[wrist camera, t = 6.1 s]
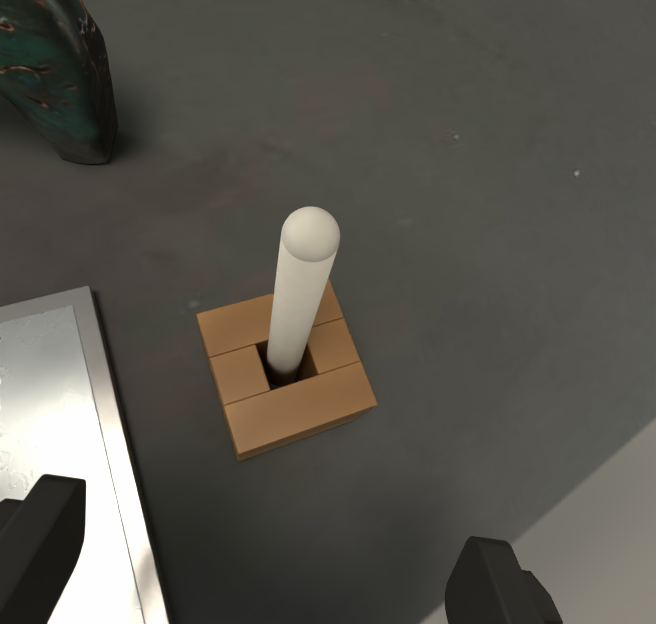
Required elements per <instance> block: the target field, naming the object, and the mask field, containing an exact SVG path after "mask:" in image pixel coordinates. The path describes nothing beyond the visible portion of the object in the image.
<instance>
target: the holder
mask: <svg viewBox="0 0 656 624" xmlns="http://www.w3.org/2000/svg"><path fill="white" fill-rule="evenodd" d="M273 299H274V293H272V294H268V295H264V296H261V297H257V298H253V299H250V300H246V301H242V302H239V303H235V304H231V305H228V306H224V307H220V308H217V309H213V310H209V311H206V312H202V313H198V314H196V317H197V321H198V325H199V330H200V334H201V339H202V343H203V347H204V351H205V354H206V357H207V361H208V364H209V367H210V371H211V374H212V378H213V381H214V384H215V388H216V391H217V394H218V398H219V401H220V404H221V408H222V411H223V414H224V418H225V421H226V424H227V428H228V431H229V434H230V438H231V441H232V445H233V448H234V451H235V455H236V458H237V461H238V462H240V461H243V460H246V459H249V458H251V457H254V456H257V455H260V454H262V453H265V452H268V451H271V450H273V449H276V448H279V447H282V446H284V445H287V444H290V443H293V442H296V441H298V440H301V439H304V438H307V437H309V436H312V435H315V434H318V433H320V432H323V431H326V430H329V429H331V428H334V427H337V426H340V425H342V424H345V423H348V422H351V421H353V420H354V419H356V418H358V417H359V416H361V415H362V414H364V413H365V412H367V411H368V410H370V409H372V408H373V407H375V406H376V405H378V403H377V401H376V398H375V396H374V393H373V391H372V388H371V385H370V383H369V380H368V378H367V375H366V373H365V370H364V367H363V365H362V362H361V361H360V358H359V355H358V353H357V350H356V348H355V345H354V342H353V340H352V337H351V335H350V332H349V330H348V327H347V324H346V322H345V319H344V318H343V317H344V316H343V313H342V311H341V308H340V306H339V303H338V301H337V298H336V295H335V293H334V290H333V288H332V285H331V283H330V280H329V278H328V280H327V283H326V286H325V289H324V292H323V295H322V298H321V301H320V304H319V307H318V310H317V313H316V316H315V319H314V322H313V325H312V328H311V331H310V334H309V337H308V340H307V343H306V347H305V350H304V353H303V356H302V359H301V362H300V365H299V368H298V371H297V374H296V375H297V378H298V381H299V382H296V383H293V384H290V385H286V386H283V387H280V388H277V389H274V390H271V391H270V386H269V383H268V380H267V377H266V374H265V371H264V368H263V367H265V365H266V357H267V349H268V340H269V332H270V324H271V315H272V307H273ZM359 361H360V362H359Z"/></svg>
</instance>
